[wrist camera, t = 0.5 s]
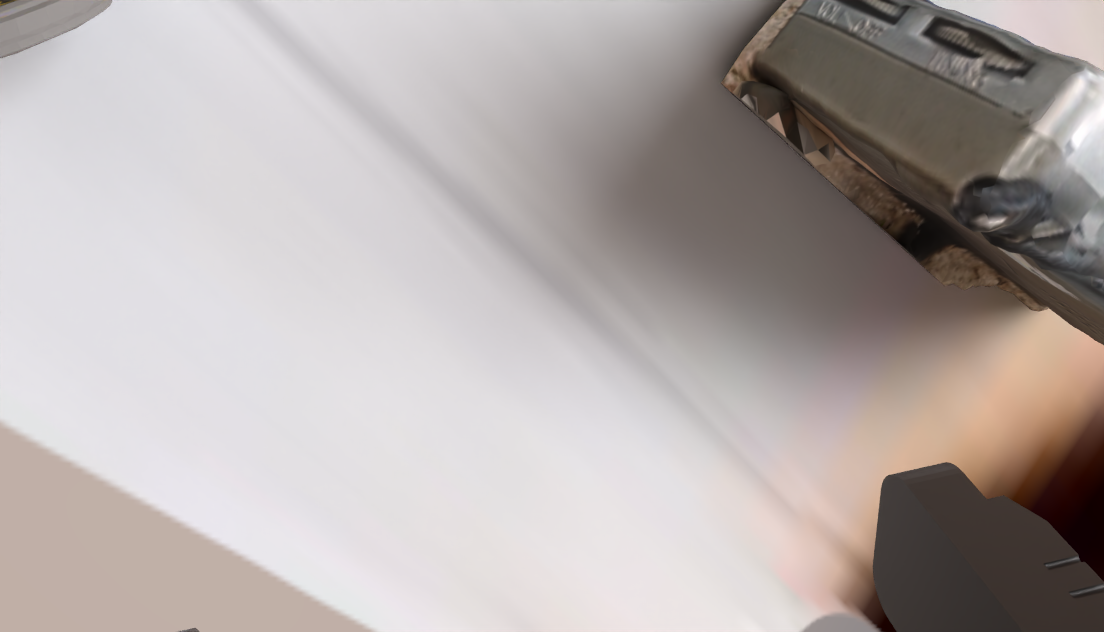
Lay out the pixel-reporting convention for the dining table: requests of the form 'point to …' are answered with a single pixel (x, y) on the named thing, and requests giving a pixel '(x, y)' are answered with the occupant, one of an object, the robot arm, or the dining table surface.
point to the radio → (946, 140)
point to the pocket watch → (42, 20)
